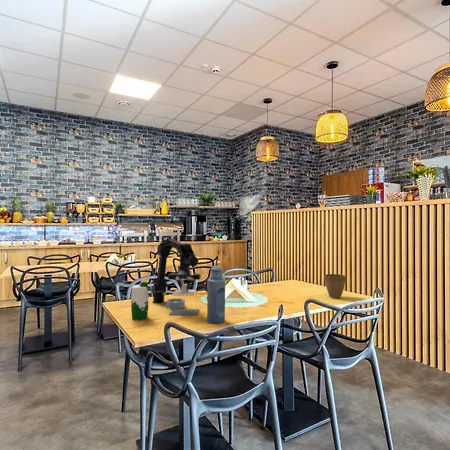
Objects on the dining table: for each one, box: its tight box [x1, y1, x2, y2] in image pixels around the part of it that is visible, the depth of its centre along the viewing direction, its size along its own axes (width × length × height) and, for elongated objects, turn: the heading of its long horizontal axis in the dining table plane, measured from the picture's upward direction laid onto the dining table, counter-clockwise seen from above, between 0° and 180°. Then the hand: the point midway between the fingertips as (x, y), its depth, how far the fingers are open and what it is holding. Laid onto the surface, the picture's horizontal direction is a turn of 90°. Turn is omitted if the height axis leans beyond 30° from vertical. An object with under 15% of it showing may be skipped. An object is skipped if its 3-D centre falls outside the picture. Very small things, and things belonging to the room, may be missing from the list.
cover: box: [172, 283, 197, 297], centre depth 199 cm, size 12×12×5 cm
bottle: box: [206, 265, 226, 325], centre depth 182 cm, size 10×10×30 cm
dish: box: [165, 297, 186, 310], centre depth 212 cm, size 11×11×4 cm
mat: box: [169, 308, 200, 317], centre depth 199 cm, size 16×12×1 cm
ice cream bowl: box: [202, 276, 211, 293], centre depth 235 cm, size 11×11×15 cm
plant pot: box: [323, 273, 347, 299], centre depth 241 cm, size 15×15×16 cm
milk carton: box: [130, 281, 149, 321], centre depth 187 cm, size 9×9×20 cm
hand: (184, 291), depth 199 cm, fingers closed on cover, 3 cm apart
